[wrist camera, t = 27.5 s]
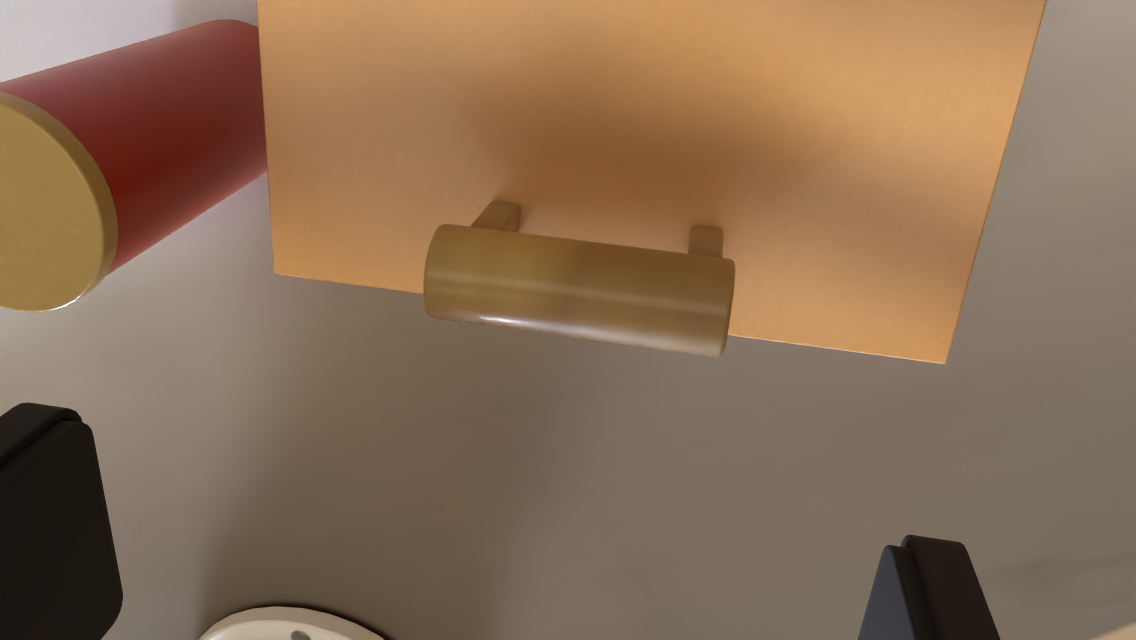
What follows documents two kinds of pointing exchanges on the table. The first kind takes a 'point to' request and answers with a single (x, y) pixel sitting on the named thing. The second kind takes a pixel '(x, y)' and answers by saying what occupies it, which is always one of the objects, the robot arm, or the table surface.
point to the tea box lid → (647, 161)
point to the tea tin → (122, 155)
